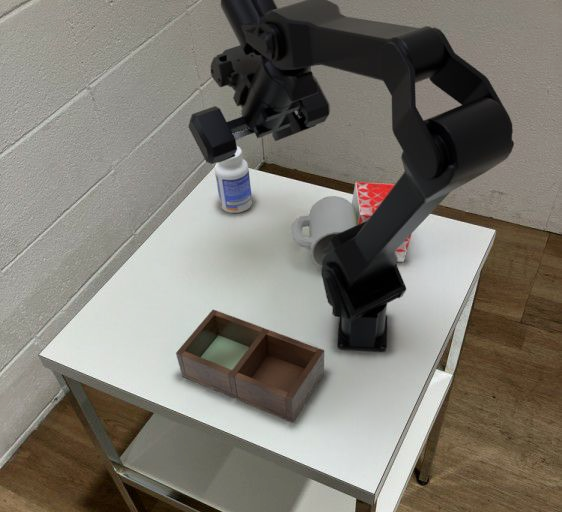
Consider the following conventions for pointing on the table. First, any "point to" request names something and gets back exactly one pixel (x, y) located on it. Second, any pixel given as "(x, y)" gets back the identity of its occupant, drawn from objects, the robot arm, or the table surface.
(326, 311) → the table surface
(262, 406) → the divided box
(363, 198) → the red patterned cube
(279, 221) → the table surface
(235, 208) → the pill bottle
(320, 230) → the cup
